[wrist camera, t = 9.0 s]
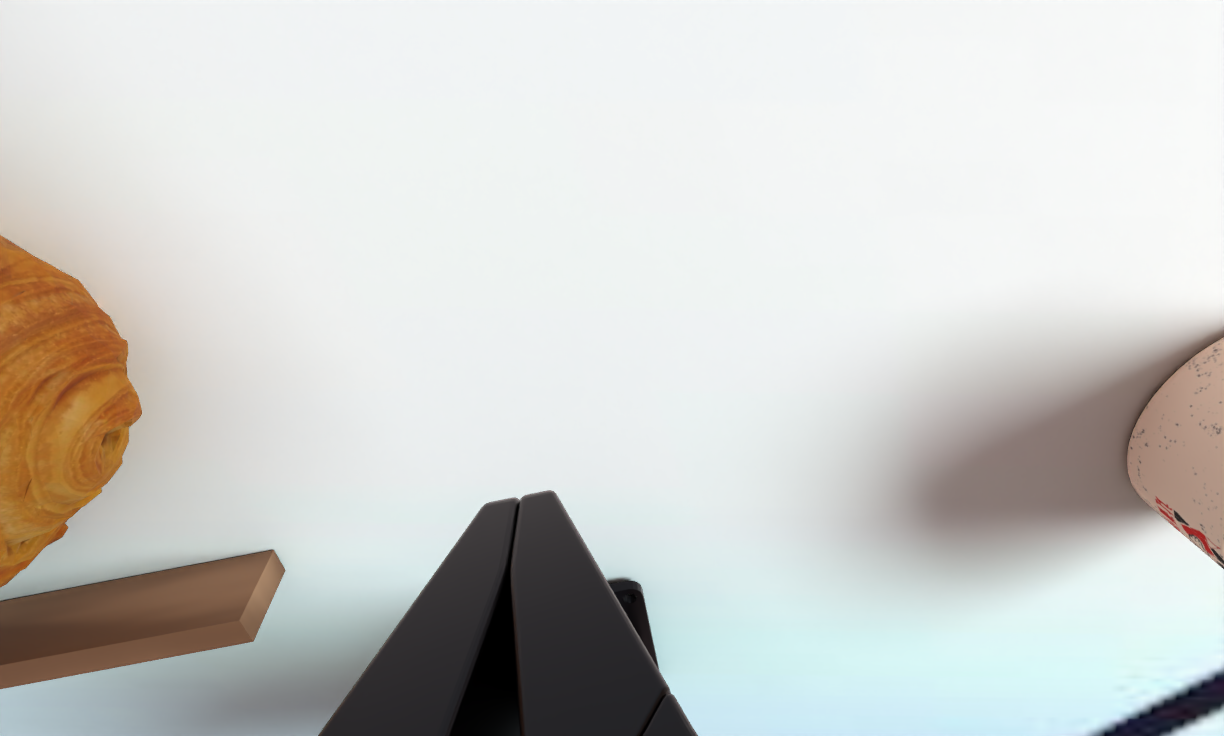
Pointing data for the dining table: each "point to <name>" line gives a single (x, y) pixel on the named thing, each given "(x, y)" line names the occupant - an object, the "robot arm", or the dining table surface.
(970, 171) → the dining table surface
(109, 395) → the croissant
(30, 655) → the walnut u-shaped frame
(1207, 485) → the teacup with lid
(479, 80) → the dining table surface
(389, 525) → the dining table surface
